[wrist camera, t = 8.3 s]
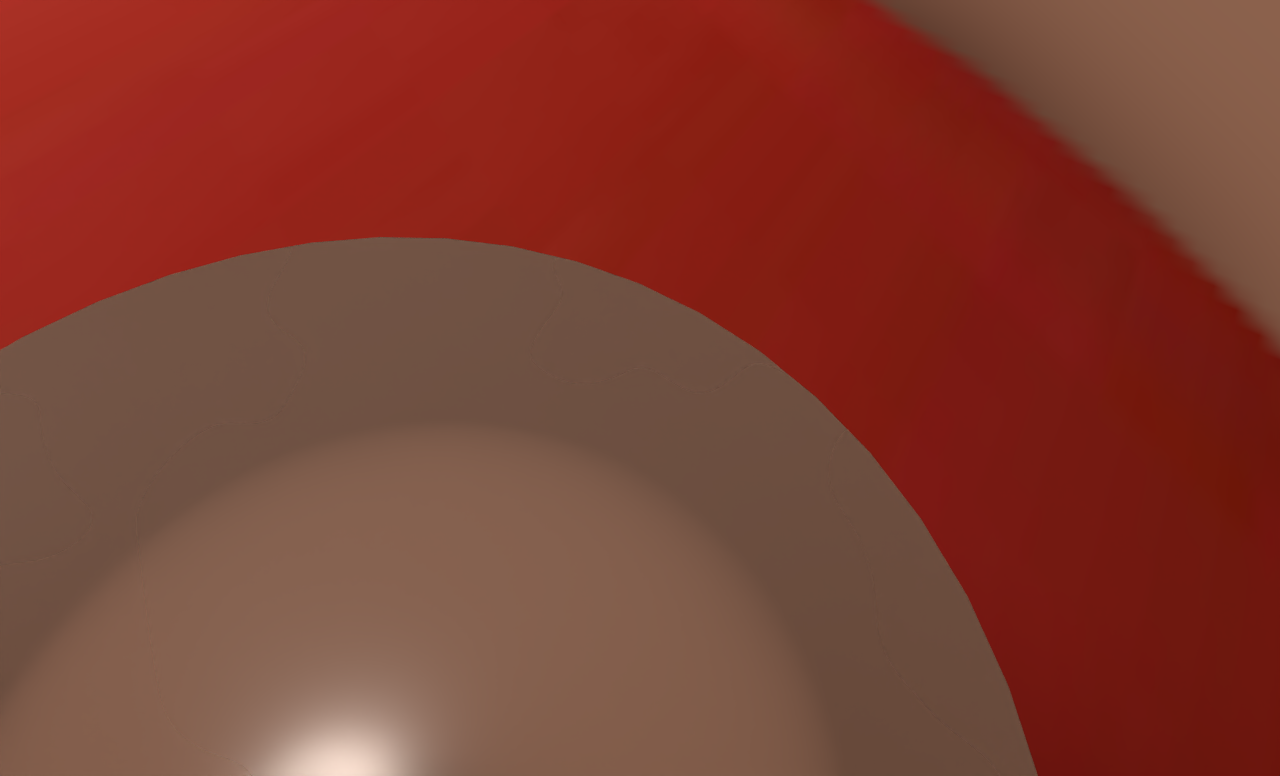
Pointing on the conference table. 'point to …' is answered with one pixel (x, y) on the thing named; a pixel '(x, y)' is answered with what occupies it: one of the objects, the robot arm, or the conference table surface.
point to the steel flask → (458, 539)
